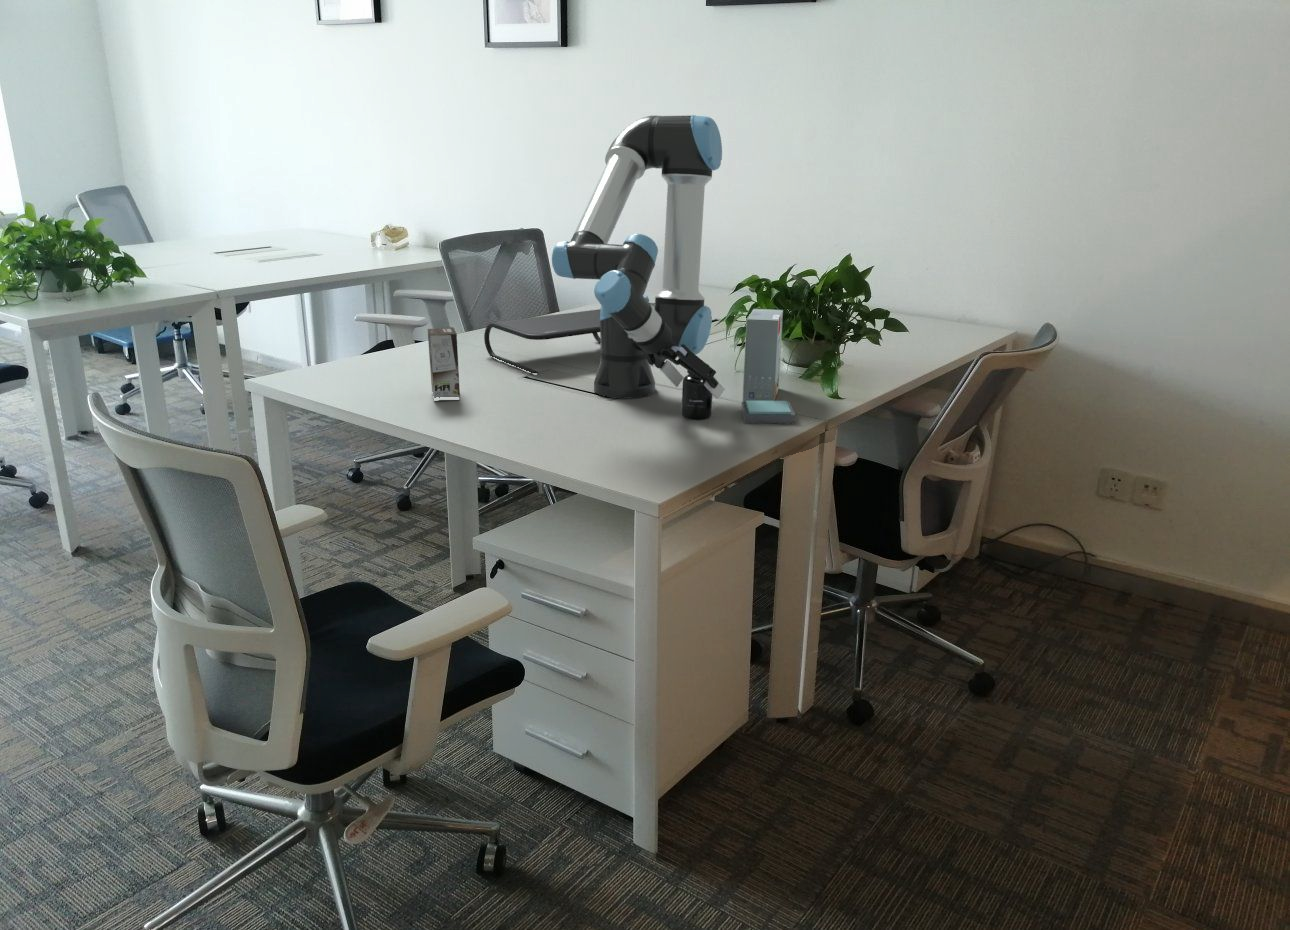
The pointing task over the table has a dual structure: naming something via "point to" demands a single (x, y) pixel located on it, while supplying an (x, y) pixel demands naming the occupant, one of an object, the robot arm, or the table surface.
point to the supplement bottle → (695, 398)
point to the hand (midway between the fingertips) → (699, 387)
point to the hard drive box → (762, 355)
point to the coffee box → (444, 362)
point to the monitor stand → (547, 329)
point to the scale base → (767, 416)
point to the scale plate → (768, 407)
